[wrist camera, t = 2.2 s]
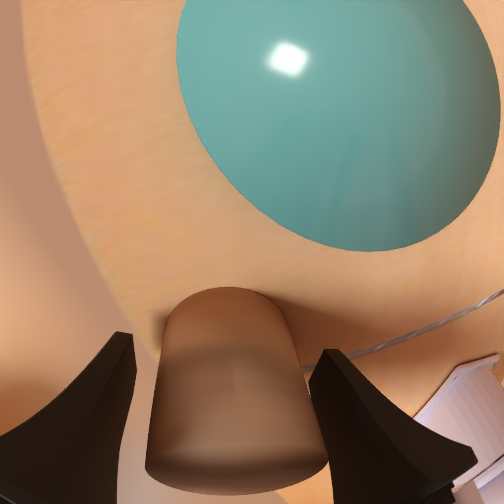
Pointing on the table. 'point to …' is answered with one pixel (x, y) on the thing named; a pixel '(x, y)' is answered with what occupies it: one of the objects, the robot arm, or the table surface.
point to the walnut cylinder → (231, 399)
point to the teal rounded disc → (344, 111)
